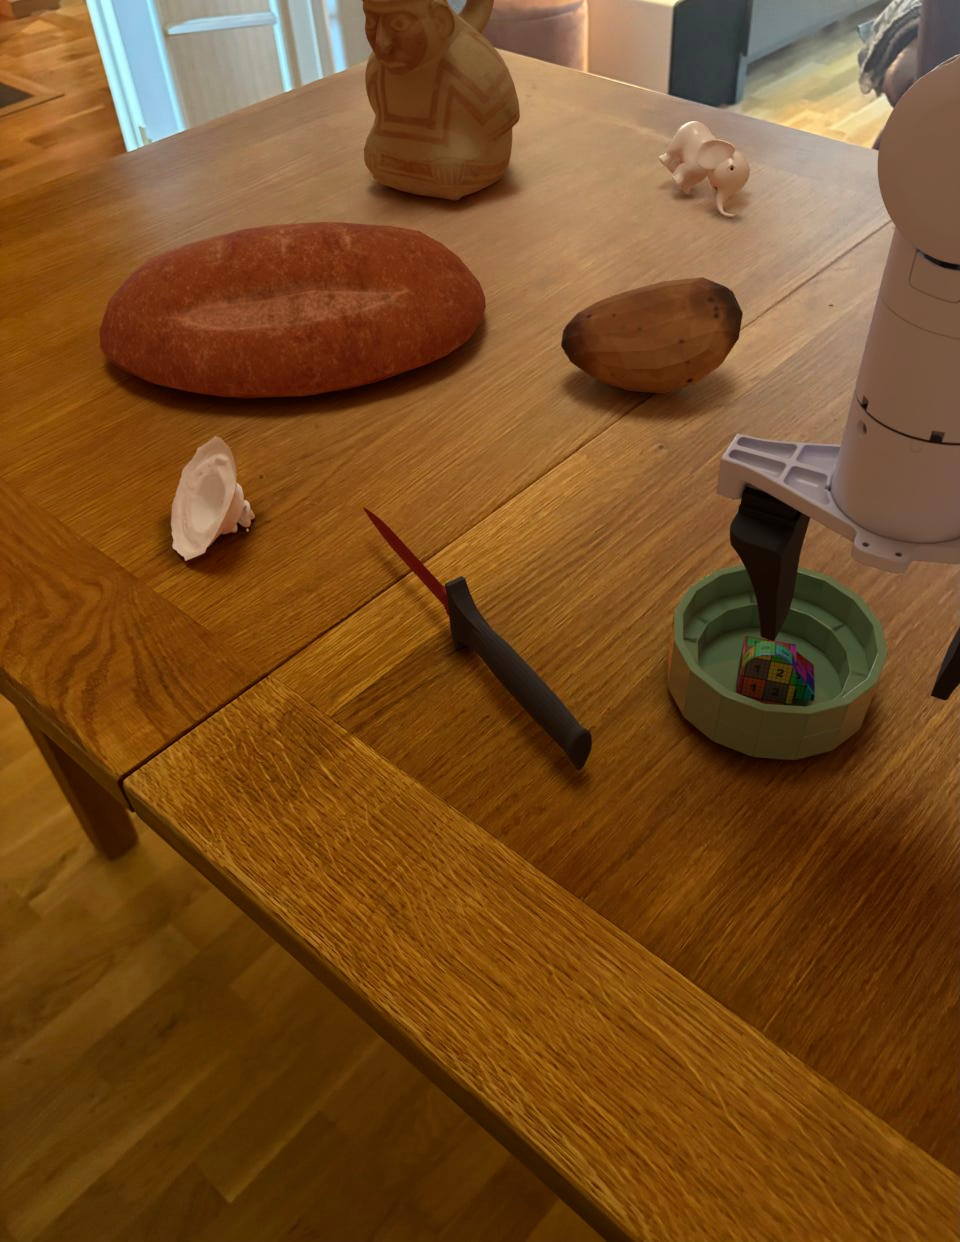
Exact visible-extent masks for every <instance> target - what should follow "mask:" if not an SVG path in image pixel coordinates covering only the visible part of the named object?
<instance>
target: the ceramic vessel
mask: <svg viewBox="0 0 960 1242" xmlns="http://www.w3.org/2000/svg"><path fill="white" fill-rule="evenodd" d="M361 2H362V10H363V13H364V17H365V22H364V33H365V36H366V40H367V42H368V44H369V46H370V48H371V52H370V54H369V57H368V59H367V63H366V67H365V73H364V74H365V77H364V78H365V79H364V80H365V91H366V95H367V99H368V102H369V105H370V107H371V110H372V111H373V113H374V116H375V117H374V120H373V125H372V127H371V129H370V131H369V133H368V135H367V137H366V140H365V144H364V147H363V160H364V164H365V167H366V168H367V169H368V171H369V172H370V174H371V175H372V177H373V179H374V180H376V181H377V183H379V184H381V185H383V186H386V187H388V188H392V189H394V190H397V191H400V192H404V193H409V194H413V195H416V196H424V197H430V198H437V199H445V200H448V201H459V200H460V199H462V198H463V197H464V196H468V195H471V194H474V193H477V192H479V191H481V190H484V189H485V188H488V187H489V186H492V185H493V184H495V182H497V181H498V180H500V178H502V177H503V176H504V175H505V173H506V171H507V169H508V167H509V165H510V160H511V156H512V148H513V127H515V126H516V125H517V124H518V123H519V122H520V118H521V112H520V100H519V96H518V94H517V89H516V86H515V82H514V80H513V78H512V77H513V76H512V75H511V72H510V70H509V67H508V66H507V63H506V62H505V60H504V58H503V56H502V55H501V54H500V53H499V52H498V50H497V48H495V46H494V45H493V44H492V43H491V42H490V41H489V39H487V38H486V37H485V36H484V35H482V33H483V31H484V30H485V29H486V27H487V25H488V23H489V21H490V18H491V15H492V12H493V8H494V3H495V0H465V3H464V5H463V6H462V8H461V10H460V11H459V12H458V13H456V11H455V10H453V8H452V6H451V5H450V3H449V2H448V0H361Z"/></svg>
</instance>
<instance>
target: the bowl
mask: <svg viewBox="0 0 960 1242" xmlns="http://www.w3.org/2000/svg"><path fill="white" fill-rule="evenodd" d="M745 635H746V636H752V637H757V638H763V637H761V635H760V620H759V612H758V607H757V601H756V597H755V593H754V589H753V586H752V583H751V580H750V577H749V575H748V572H747V570H746V568H745V566H744V564H743V563H740V564H736V565H732V566H727V567H723V568H718V569H715V570H714V571H712V572H711V573H709V574H708V575H706V576H704V577H703V578H701V579H700V580H698V581H697V582H695V583H694V584H693V583H692V585H690V586H689V587H688V588H687V589H686V592H685V593H684V595H683V596H682V597H681V600H680V601H679V603H678V604H677V607H676V608H675V610H674V611H673V617H672V625H671V633H670V638H669V639H670V641H669V648H668V654H667V689H668V690H669V693H670V694H671V696H672V698H673V700H674V702H675V703H676V705H677V707H678V710H679V711H680V713H681V715H682V716H683V718H684V719H685V720H686V721H688V722H689V723H690V724H691V725H692V726H693V727H694V728H696V729H697V730H698V731H700V732H701V733H702V734H703V735H704V736H705V737H707V738H708V739H709V740H710V741H712V742H714V743H715V744H718V745H720V746H723V747H725V748H728V749H731V750H733V751H736V752H739V753H742V754H744V755H746V756H748V757H753V758H760V759H773V760H787V761H796V760H801V759H805V758H809V757H813V756H817V755H821V754H824V753H828V752H832V751H834V750H835V749H837V748H838V747H839V746H840V745H842V744H843V743H844V742H846V741H847V740H848V739H849V738H851V737H852V736H853V735H854V734H856V733H857V732H858V731H859V730H860V729H861V728H862V725H863V723H864V720H865V718H866V715H867V713H868V710H869V708H870V706H871V703H872V701H873V697H874V694H875V692H876V689H877V686H878V683H879V680H880V678H881V675H882V672H883V670H884V666H885V664H886V661H887V659H888V655H889V653H888V648H887V643H886V639H885V632H884V628H883V624H882V622H881V621H880V620H879V618H878V617H877V616H876V615H875V613H874V611H872V609H871V608H870V607H869V605H868V604H867V603H866V601H865V600H864V599H863V598H862V596H860V595H859V594H858V593H856V592H854V591H853V590H852V589H849V588H848V587H847V586H845V585H843V584H842V583H841V582H839V581H837V580H836V579H834V578H833V577H831V576H829V575H827V574H824V573H821V572H817V571H814V570H811V569H808V568H805V567H802V566H799V565H798V571H797V577H796V583H795V590H794V595H793V599H792V602H791V606H790V609H789V613H788V615H787V617H786V619H785V621H784V623H783V625H782V627H781V629H780V631H779V633H778V635H777V637H776V639H775V641H779V642H785V643H791V644H796V651H797V652H798V653H800V654H801V655H802V656H803V657H805V658H806V659H807V660H809V661H810V662H811V663H812V664H814V686H815V697H814V701H809V700H804V699H798V698H792V702H791V706H790V705H776V704H764V703H762V702H759V701H756V700H754V699H751V698H748V697H746V696H743V695H740V694H737V693H735V692H736V683H737V675H738V667H739V662H740V657H741V652H742V647H743V642H744V637H745ZM763 639H765V638H763Z"/></svg>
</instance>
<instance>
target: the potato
mask: <svg viewBox="0 0 960 1242" xmlns="http://www.w3.org/2000/svg"><path fill="white" fill-rule="evenodd" d="M742 310H743V309H742V308H741V305H740V304H739V302H738V300H737V298H736V296H735V293H734V291H733V290H731V289H730V288H729V287H727V286H725V285H723V284H720V283H718V282H716V281H713V280H710V279H708V278H706V277H692V278H681V279H671V280H664V281H660V282H656V283H651V284H648V285H645V286H641V287H637V288H633V289H630V290H626V291H623V292H620V293H618V294H615V295H612V296H610V297H607V298H603V299H601V300H598V301H595V303H592V304H591V305H589V306H588V307H585V308H584V309H582V310H581V311H579V312H577V313H576V314H575V315H574V316H573V317H572V318H571V320H570V321H569V322H568V323H567V324H566V325H565V327H564V329H563V330H562V336H561V342H560V343H561V344H560V347H561V348H562V350H563V352H564V353H565V355H566V357H567V358H568V360H569V361H570V362H569V363H571V364H573V365H574V366H575V367H576V368H578V369H580V370H581V371H582V372H584V373H586V374H587V375H588V376H590V377H592V378H594V379H595V380H596V381H598V382H600V383H603V384H606V385H608V386H609V385H610V386H612V387H615V388H619V389H622V390H624V391H628V392H638V393H639V392H641V393H654V394H666V393H669V392H672V391H676V390H679V389H683V388H686V387H690V386H694V385H695V384H696V383H697V382H699V381H701V380H702V379H704V378H705V377H706V376H708V375H709V374H711V373H712V372H713V371H715V370H717V369H718V368H719V367H720V366H721V365H722V364H723V363H724V362H725V360H726V358H727V357H728V356H729V354H730V352H731V350H733V348H734V347H735V345H736V344H737V342H738V340H739V339H740V334H741V327H742V321H743V315H744V312H743V311H742Z"/></svg>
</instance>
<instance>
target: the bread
mask: <svg viewBox="0 0 960 1242" xmlns="http://www.w3.org/2000/svg"><path fill="white" fill-rule="evenodd" d="M486 304H487V303H486V295H485V293H484V291H483V288H482V285H481V283H480V280H478V279H477V277H476V276H475V275H474V274H473V272H472V271H471V270H470V269H469V267H468V266H467V264H465V262H464V261H463V260H462V259H461V258H460V257H459V256H458V255H457V254H456V253H454V252H453V251H452V250H451V249H449V248H448V247H447V246H446V245H444V244H443V243H442V242H441V241H438V240H436V239H434V238H433V237H431V236H430V235H427V234H426V233H424V232H421V231H420V230H415V229H409V228H405V227H398V226H393V225H377V224H367V223H366V224H365V223H354V222H353V223H352V222H340V221H339V222H337V221H336V222H334V221H333V222H332V221H318V222H317V221H316V222H314V221H313V222H300V223H298V222H297V223H285V224H284V223H283V224H270V225H261V226H256V227H249V228H244V229H237V230H234V231H231V232H227V233H222V234H219V235H214V236H211V237H208V238H204V239H201V240H197V241H193V242H191V243H187V244H184V245H183V244H182V245H181V246H178V247H175V248H173V249H170V250H167V251H165V252H162V253H159V254H157V255H154V256H152V257H149V258H148V259H147V260H145V261H144V262H143V263H142V264H141V265H140V266H139V267H138V268H136V269H135V270H134V271H132V273H130V274H129V275H128V276H127V277H126V279H124V281H122V283H121V284H120V286H119V287H118V288H117V289H116V290H115V291H114V293H113V294H112V295H111V296H110V297H109V299H108V302H107V305H106V308H105V312H104V314H103V317H102V321H101V323H100V327H99V348H100V350H101V352H102V353H103V355H104V356H105V358H107V359H108V360H109V361H110V362H112V363H113V364H114V365H115V366H116V367H118V368H119V369H120V370H121V371H123V372H125V373H128V374H129V375H132V376H134V377H137V378H139V379H142V380H143V381H146V382H149V383H151V384H154V385H159V386H162V387H166V388H171V389H176V390H180V391H184V392H189V393H194V394H202V395H207V396H208V395H209V396H215V397H223V398H234V399H267V398H287V397H290V398H291V397H307V396H313V395H314V396H315V395H319V394H326V393H331V392H336V391H342V390H350V389H354V388H358V387H362V386H366V385H371V384H375V383H378V382H380V381H384V380H386V379H388V378H391V377H394V376H397V375H401V374H404V373H406V372H409V371H412V370H415V369H417V368H419V367H423V366H425V365H428V364H430V363H433V362H435V361H436V360H439V359H442V358H445V357H447V356H448V355H450V354H451V353H452V352H453V351H455V350H456V349H458V348H459V347H461V346H462V345H463V344H464V343H466V342H467V341H469V340H470V338H471V337H472V336H473V335H474V333H475V332H476V330H477V329H478V328H479V326H480V325H481V324H482V322H483V321H484V316H485V311H486V307H487V305H486Z"/></svg>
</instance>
